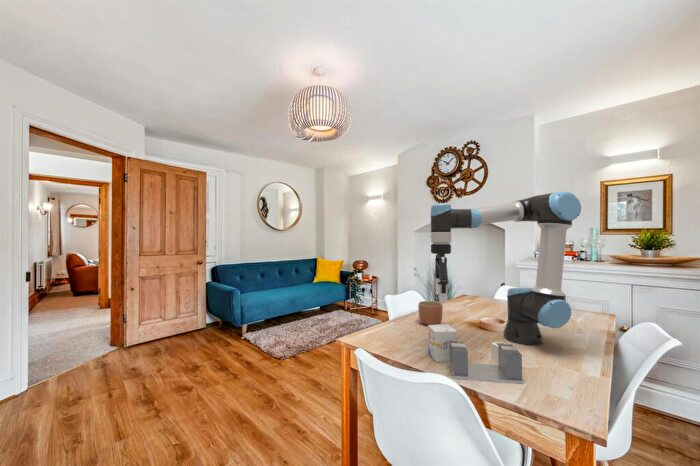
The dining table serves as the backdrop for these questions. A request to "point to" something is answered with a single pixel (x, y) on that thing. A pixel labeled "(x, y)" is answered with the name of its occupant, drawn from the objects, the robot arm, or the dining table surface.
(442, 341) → the ink box
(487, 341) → the dining table surface
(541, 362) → the dining table surface
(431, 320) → the planter
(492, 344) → the loose module
